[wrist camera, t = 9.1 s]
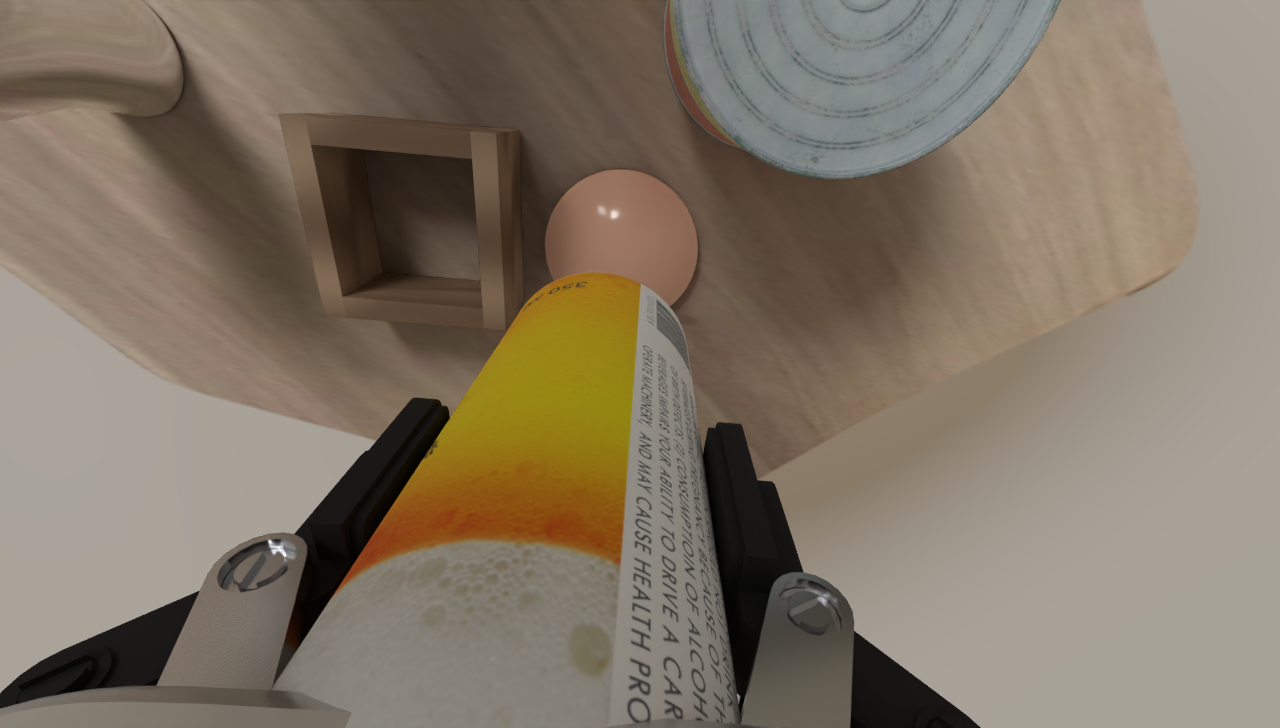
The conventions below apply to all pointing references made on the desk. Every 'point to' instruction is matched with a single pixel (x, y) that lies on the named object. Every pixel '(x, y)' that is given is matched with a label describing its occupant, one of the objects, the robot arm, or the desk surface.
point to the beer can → (544, 542)
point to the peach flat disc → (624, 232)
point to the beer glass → (86, 58)
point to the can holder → (347, 229)
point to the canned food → (845, 74)
